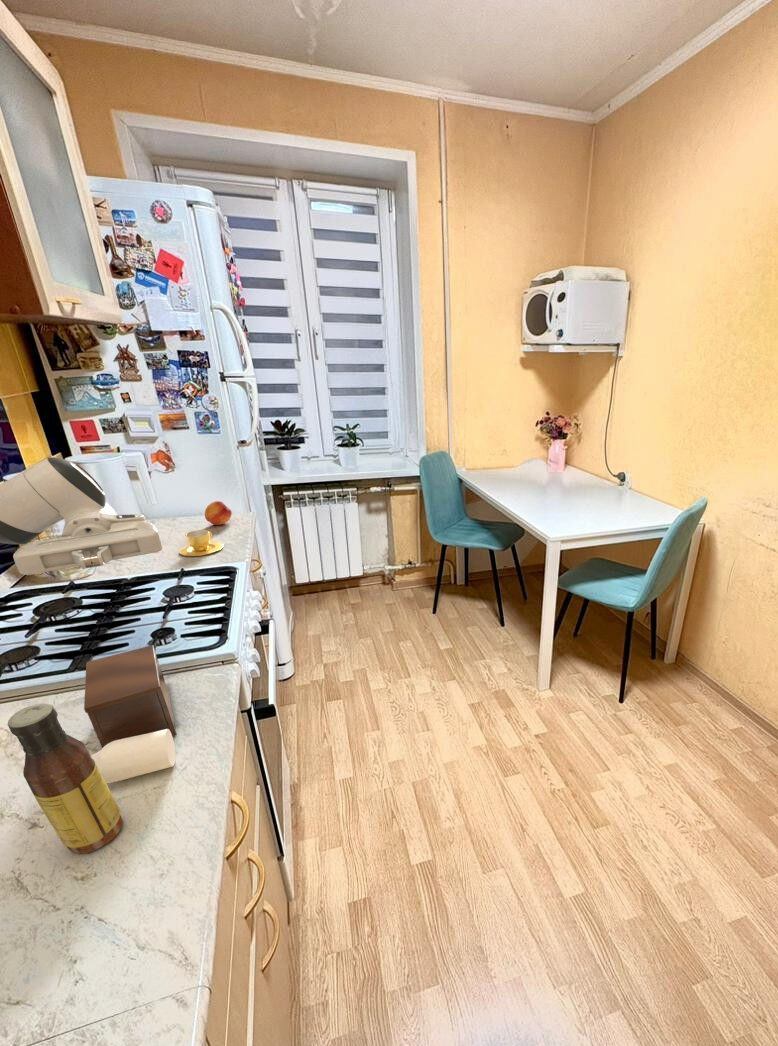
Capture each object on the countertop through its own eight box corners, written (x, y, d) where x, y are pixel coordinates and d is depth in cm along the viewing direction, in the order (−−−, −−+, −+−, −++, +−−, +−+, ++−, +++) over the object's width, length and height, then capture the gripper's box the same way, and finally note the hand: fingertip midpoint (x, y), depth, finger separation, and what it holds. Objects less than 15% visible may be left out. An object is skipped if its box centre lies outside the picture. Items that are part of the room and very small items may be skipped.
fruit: (229, 527, 176) (224, 504, 172) (204, 528, 175) (198, 505, 171) (235, 520, 183) (230, 498, 179) (211, 521, 182) (206, 499, 178)
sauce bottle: (109, 807, 69) (55, 687, 61) (135, 827, 66) (82, 704, 58) (53, 844, 64) (-14, 718, 56) (78, 868, 61) (11, 738, 53)
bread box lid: (161, 690, 77) (160, 686, 77) (85, 713, 73) (83, 708, 72) (154, 648, 88) (153, 644, 88) (87, 666, 83) (86, 661, 83)
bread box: (176, 735, 82) (161, 688, 78) (106, 759, 77) (85, 710, 73) (168, 692, 92) (154, 649, 88) (106, 711, 88) (88, 666, 84)
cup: (204, 559, 150) (199, 541, 147) (170, 555, 153) (165, 538, 150) (232, 545, 160) (228, 528, 158) (199, 541, 163) (195, 525, 161)
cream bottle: (84, 772, 75) (70, 742, 73) (177, 748, 79) (167, 719, 77) (74, 802, 70) (59, 771, 68) (173, 774, 75) (163, 744, 72)
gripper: (12, 532, 87) (-1, 558, 76) (152, 512, 97) (158, 532, 86) (27, 567, 89) (16, 596, 79) (161, 544, 99) (168, 567, 89)
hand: (91, 562), depth 83 cm, fingers closed
